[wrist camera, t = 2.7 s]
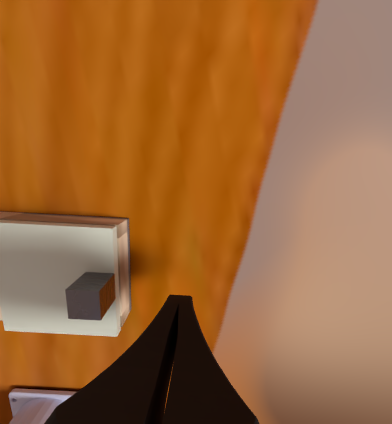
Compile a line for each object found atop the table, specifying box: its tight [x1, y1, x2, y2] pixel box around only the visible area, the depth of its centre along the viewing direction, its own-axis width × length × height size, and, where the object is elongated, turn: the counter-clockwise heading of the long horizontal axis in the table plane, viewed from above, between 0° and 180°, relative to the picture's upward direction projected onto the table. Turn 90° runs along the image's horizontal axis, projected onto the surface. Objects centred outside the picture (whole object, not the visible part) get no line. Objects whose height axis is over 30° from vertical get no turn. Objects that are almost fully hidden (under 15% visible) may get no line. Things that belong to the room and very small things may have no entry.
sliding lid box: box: [0, 212, 131, 327], centre depth 15 cm, size 8×18×2 cm, turn 87°
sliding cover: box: [0, 220, 121, 337], centre depth 12 cm, size 8×8×3 cm
